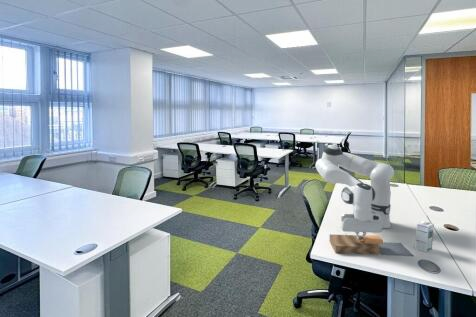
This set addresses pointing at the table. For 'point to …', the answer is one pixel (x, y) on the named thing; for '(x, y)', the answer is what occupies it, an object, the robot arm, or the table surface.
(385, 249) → the mat
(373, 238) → the block
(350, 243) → the deck
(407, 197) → the table surface
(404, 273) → the table surface
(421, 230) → the syrup box
